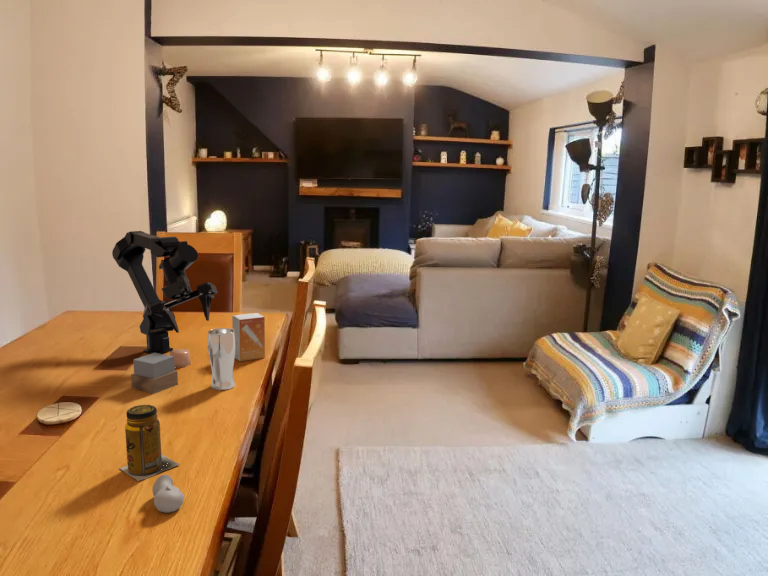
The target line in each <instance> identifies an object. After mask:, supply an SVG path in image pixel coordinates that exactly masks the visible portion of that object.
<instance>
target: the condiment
mask: <svg viewBox="0 0 768 576" xmlns="http://www.w3.org/2000/svg"><path fill="white" fill-rule="evenodd" d="M157 411H158V409H157V407H155V406H154V405H151V404H140V405H139V404H138V405H134V406H132V407H130V408H129V409H127V410H126V424H125V427H124V431H125V443H126V444H125V445H126V447H125V448H126V460H127V461H126V463H127V465H125V466H123V467H118V469H120V470H121V471H122V472H124V473H125V474H127V475H128V476H130V477H131V478H133V479H135V480H136V481H137V482H139V481H142V480H145V479H147V478H150V477H153V476H155V475H158V474H160V473H162V472H164V471H167V470H169V469H172V468H174V467H176V466H180V463H179V462H176V461H175V460H172V459H170V458H169V457H168V456H166V455H164V454H163V453H162V440H161V426H160V425H161V423H160V420H159V419H158V414H157ZM167 463H168V464H167ZM163 465H164V466H163ZM166 465H167V466H166ZM161 469H162V470H161Z"/></svg>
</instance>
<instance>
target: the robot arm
mask: <svg viewBox="0 0 768 576" xmlns="http://www.w3.org/2000/svg"><path fill="white" fill-rule="evenodd" d="M188 243H189V242H188V241H187V240H184V241H183V240H182V241H180V240H179V239H178V238H177V237H176V236H161V237H160V236H157V235H154V234H150V233H147V232H145V231H142V230H134V231H133V230H132V231H128V232H126V234H125V235H124V237H122V238H121V239H120V240H118V241H117V242H116V243H115V245H114V247H113V249H112V251H111V254H112V258H113V260H114V261H115V262H116V264H117V265H118V267H119V268H121V269H122V270H124V271H126V272H127V273H128V275H129V278H130V280H131V281H132V284H133V287H134V288H135V290H136V292H137V295H138V297H139V298H140V301H141V303H142V305H143V307H144V309H143V314H142V318H143V319H142V321H141V323H140V325H139V330H140V334H143V335H146V348H145V349H143V351H142V352H144V353H148V354H152V353H159V354H163V353H167V352H171V351H173V350H174V348H173V347H170V337H169V332H173V331H175V333H177V334H178V333H180V331H179V330H180V329H179V326H178V323H177V321H176V315H175V312H173V310H174V309H172V308H173V307H175V306H178V305H180V304H183V303H185V302H187V301H190V300H193V299H195V298H198V299H199V301H200V303H201V308H202V312H203V315H204V318H205V320H206V321H207V322H209V321H210V313H211V304H212V299H214V298H215V295H216V294H218V293H219V292H218V288H217V286H216V285H215V284H213V283H211V282H210V281H205V282H204V283H201V284H199V285H196V290H193V291H192V288H191V285H190V279H189V278H188V276H187V273H186V270H188V268H189V267H190V266H192V264H194V263H195V262H196V261H197V260H198V258H199V253H198V251H197V249H195V248H194V246H192V245H190V244H188ZM146 249H147V250H149V251H150V254H151V255H153V256H154V257H156V258H165V259H161V261H160V264H159V265H158V269H159V270H162V271H163V275H164V277H165V286H164V287H162V288H161V291H162V293H163V296H164V297H165V299H166V300H161V299H160V297H159V296H158V294H157V292H156V290H155V288H154V286H153V283H152V281H151V280H150V277H149V275H148V274H147V272H146V270H145V267H144V265H143V261H144V253H145V252H146ZM167 299H169V300H167Z"/></svg>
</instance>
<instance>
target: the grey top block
mask: <svg viewBox="0 0 768 576" xmlns="http://www.w3.org/2000/svg"><path fill="white" fill-rule="evenodd" d="M132 362H133V374H134V375H139V376H143V377H148V378H152V379H155V378H158V377H160V376H163V375H166V374H168V373H171V372H174V371H176V370H175V369H176V368H175V365H174V356H170V354H163V353H161V354H159V353H148V354H146V355H144V356H143V355H142V356H140V357H137V358H134V359H133V361H132Z"/></svg>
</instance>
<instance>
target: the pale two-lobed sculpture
mask: <svg viewBox="0 0 768 576" xmlns="http://www.w3.org/2000/svg"><path fill="white" fill-rule="evenodd" d="M151 490H152V494H153V504H154V507H155V509H157V510H158V511H159V512H162V513H165V514H167V513H174V512H177V510H179V509H180V508H181V506H182V505H183V503H184V500H185V495H184V493H182V492H181V490H180V489H179V487H177V486H175V485H174V481H173V478H172V477H171V476H170V475H168V474H162V475H159V477H158V478H157V479H155V482H154V483H153V485H152V489H151Z"/></svg>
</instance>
